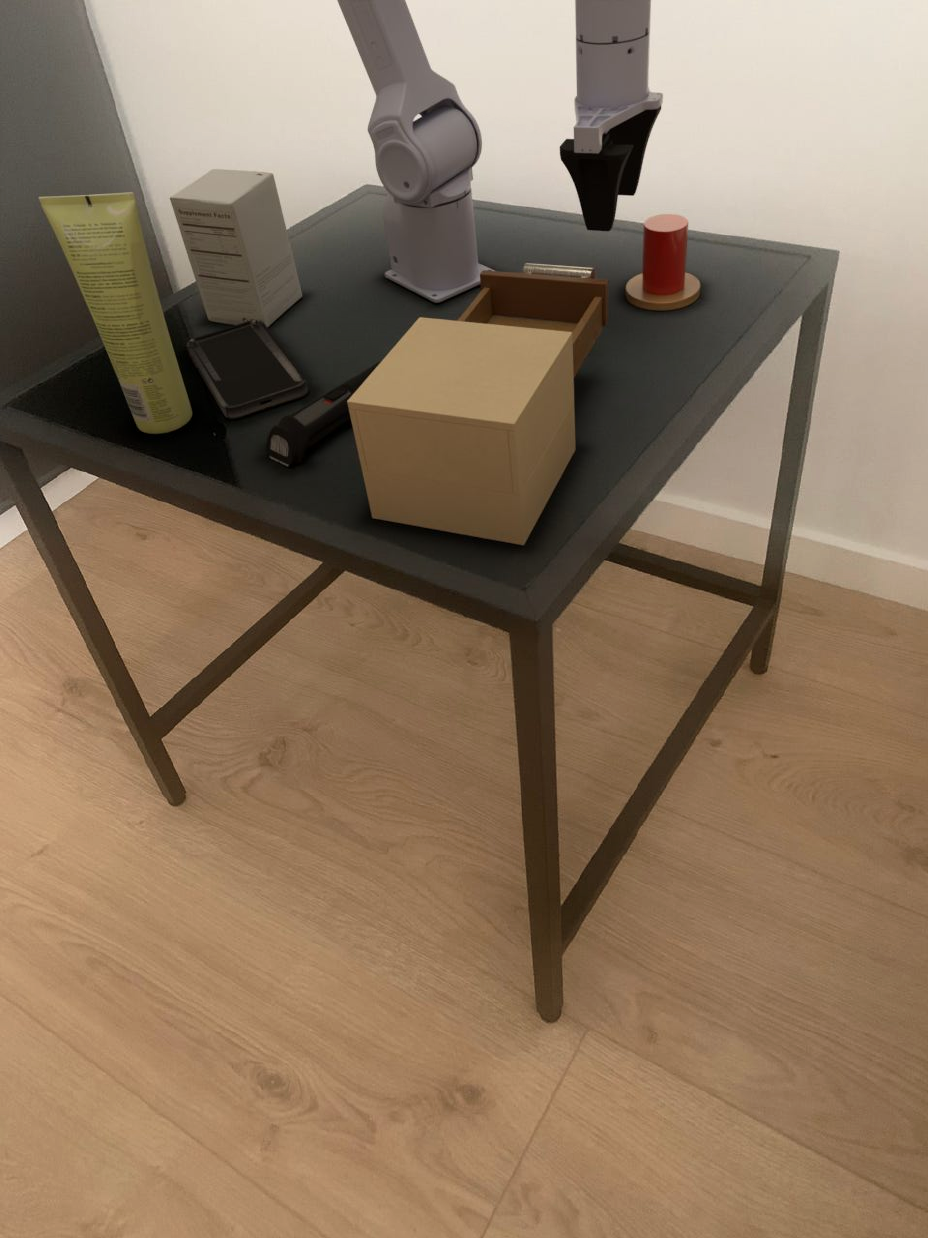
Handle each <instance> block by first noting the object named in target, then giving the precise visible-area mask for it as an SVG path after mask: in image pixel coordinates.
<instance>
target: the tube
mask: <svg viewBox="0 0 928 1238" xmlns="http://www.w3.org/2000/svg"><path fill="white" fill-rule="evenodd" d="M38 201H39V204H40V206H41V208H42V210H43V212H44V215H45V216H46V218H47V220H48V222H49V224H50V226H51V228H52V230H53V232H54V235H55V237H56V239H57V241H58V243H59V245H60V247H61V250H62V252H63V254H64V256H65V259H66V260H67V263H68V265H69V267H70V269H71V272H72V274H73V276H74V278H75V280H76V283H77V285H78V287H79V290H80V292H81V295H82V297H83V299H84V301H85V304H86V305H87V309H88V311H89V313H90V315H91V318H92V320H93V322H94V324H95V327H96V329H97V332H98V334H99V336H100V338H101V341H102V343H103V346H104V348H105V351H106V352H107V355H108V358H109V360H110V363H111V365H112V368H113V370H114V373H115V376H116V377H117V380H118V382H119V385H120V388H121V390H122V392H123V395H124V397H125V400H126V402H127V406H128V408H129V410H130V413H131V414H132V417H133V420H134V422H135V424H136V427H137V428H138V430H139V431H141V432H143V433H146V434H152V435H161V434H167V433H170V432H173V431H176V430H178V429H181V428H182V427H184V426H185V425H187V424H188V423H189V422H190V421H191V419H192V417H193V409H192V406H191V403H190V399H189V396H188V392H187V390H186V386H185V383H184V379H183V376H182V373H181V370H180V366H179V363H178V360H177V357H176V353H175V350H174V347H173V343H172V340H171V335H170V332H169V328H168V325H167V322H166V319H165V314H164V311H163V308H162V304H161V300H160V297H159V293H158V289H157V286H156V282H155V279H154V275H153V270H152V267H151V263H150V259H149V256H148V251H147V247H146V243H145V239H144V235H143V230H142V227H141V222H140V216H139V211H138V204H137V200H136V197H135V194H134V192H133V191H128V192H115V193H113V192H112V193H97V194H94V193H93V194H79V195H78V194H77V195H75V194H74V195H56V196H54V195H51V196H38Z"/></svg>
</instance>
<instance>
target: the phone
mask: <svg viewBox="0 0 928 1238" xmlns="http://www.w3.org/2000/svg"><path fill="white" fill-rule="evenodd" d="M185 345H186V349H187V352H188V355H189V358H190V359H191V361H192V363H193V365H194V367H195V368H196V370H197V371H198V374H200V376H201V378H202V380H203V381H204V383H205V385H206V386H207V388H208V390H209V391H210V393H211V395H212V397H213V398H214V400H215V402H216V404H217V405H218V407H219V409H220V410H221V412H222V414H223V415H224V417H225V418H227V419H231V420H236V419H241V418H244V417H248V416H250V415H252V414H256V413H258V412H262V411H266V410H268V409H271V408H274V407H277V406H280V405H282V404H285V403H288V402H292V401H295V400H297V399H300V398H303V397H305V396H306V395H307V394H308V393H309V386H308V381H307V379H306V376H305V375H304V374H303V372H302V371H301V370H300V369H299V367H298V365H297V364H296V363H295V362H294V360H293V359H292V358H291V356H290V355H289V354H288V352H287V351H286V350H285V349H284V347H283V346H282V345H281V343H280V342H279V341H278V340H277V338H276V337H275V335H274V334H273V332H271V330H270V329H269V327H268V328H267V326H266V325H265V324H264V323H263V322H262V321H260V320H252V321H248V322H245V323H241V324H238V325H231V326H229V327H225V328H222V329H219V330H216V331H212V332H209V333H206V334H203V335H199V336H196V337H193V338H191V339H190V340H188V341H187V342H186V344H185Z"/></svg>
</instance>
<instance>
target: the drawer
mask: <svg viewBox="0 0 928 1238" xmlns="http://www.w3.org/2000/svg"><path fill="white" fill-rule="evenodd" d="M480 282H481V284H480V292H479V293H478V294H477V295H476V296H475V298H474V299H473V301H472V302H471V303H470V304H469V305H468V307H467V308H466V309H465V310H464V312H463V313H462V314H461V315H460V317H458V319H457V320H456V321H463V322H473V323H484V324H494V325H504V326H514V327H524V328H535V329H545V330H555V331H565V332H572V340H573V375H574V378H575V377H576V375H577V374H578V372H579V370H580V369H581V367H582V365H583V363H584V362H585V360H586V358H587V357H588V355H589V353H590V351H591V350H592V349H593V346H594V345H595V343H596V341H597V340H598V338H599V336H600V335H601V333H602V331H603V326H604V327H606V326H607V324H608V323H609V279H602V278H596V269H595V268H594V267H584V266H569V265H557V264H554V265H553V264H543V263H530V262H529V263H528V262H526V263H524V266H523V268H522V272H514V271H513V272H511V271H499V270H495V271H487V270H483V271H482V272H481V273H480Z"/></svg>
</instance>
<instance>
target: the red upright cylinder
mask: <svg viewBox="0 0 928 1238" xmlns="http://www.w3.org/2000/svg"><path fill="white" fill-rule="evenodd" d="M642 231H643V233H642V235H643V236H642V265H641V266H642V271H641V274H642V288H643V290H644V291H646V292H648V293H650V294H654V295H669V294H674V293H677V292H679V291H681V290H682V289H683V288H684V286H685V272H686V273H687V271H686V270H687V256H688V255H687V253H688V239H689V238H688V237H689V220H688V218H687V217H685V216H683V215H680V214H675V213H662V214H656V215H653V216H650V217H648V218H647V219H646V220H644V222H643V230H642Z"/></svg>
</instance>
